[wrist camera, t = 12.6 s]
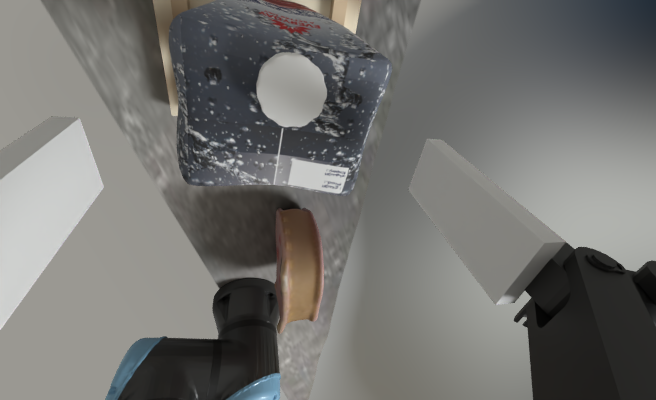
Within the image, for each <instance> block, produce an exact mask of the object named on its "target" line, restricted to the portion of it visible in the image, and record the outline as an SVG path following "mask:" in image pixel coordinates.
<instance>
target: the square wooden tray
mask: <svg viewBox="0 0 656 400" xmlns="http://www.w3.org/2000/svg"><path fill="white" fill-rule="evenodd" d="M213 1H215V0H153V5H154V11H155V17H156V23H157V29H158V35H159V41H160V47H161V53H162V59H163V65H164V71H165V77H166V83H167V89H168V95H169V101H170V107H171V113H172V116H178V94H177V87H176V82H175V77H174V72H173V67H172V61H171V56H170V50H169V27H170V24H171V22H172V20H173V19H174V18H175V17H176V16H177V15H178V14H180V13H182V12H184V11H187V10H190V9H193V8H196V7H199V6H202V5H205V4H208V3H210V2H213ZM284 1H290V2H295V3H298V4H301V5H304V6H306V7H308V8H310V9H312V10H314V11H316V12H318V13H320V14H322V15H324V16H326V17H327V18H329V19H331V20H333V21H335V22H337V23H339V24H341V25H342V26H344V27H346V28H347V29H349V30H350V31H351V32H353V33H354V34H355V33H356V27H357V22H358V16H359V11H360V5H361V0H284Z"/></svg>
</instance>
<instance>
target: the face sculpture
mask: <svg viewBox="0 0 656 400" xmlns="http://www.w3.org/2000/svg"><path fill="white" fill-rule="evenodd" d="M275 231H276V232H275V237H276V250H277V279H276V282H275V291H276V296H277V301H278V305H279V314H280V320H279V323H278V325H277V330H278V333H279V334H280V333H282V332H283V329H284V328H285V326H286V324H287V323H289V322H292V321H297V320H304V319H308V320H310V321H312V322H314V321H316V319H317V317H318V312H319V307H320V302H321V299H322V294H323V287H324V264H323V251H322V243H321V237H320V234H319V229H318V227H317V223H316V221H315V219H314V216H313V214H312V213H311V211H310V210H307V209H306V208H303V209H302V210H300V209H288V210H282V209H281V208H278V209H277V211H276V227H275Z"/></svg>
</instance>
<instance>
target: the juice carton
mask: <svg viewBox="0 0 656 400" xmlns="http://www.w3.org/2000/svg"><path fill="white" fill-rule="evenodd" d="M169 50H170V56H171V61H172V67H173V72H174V77H175V82H176V87H177V94H178V118H177V154H178V161H179V168H180V170H181V173H182V176H183V178H184V180H185V181H186V182H187V183H188V184H191V185H196V186H229V185H255V184H260V185H280V186H288V187H295V188H300V189H305V190H310V191H315V192H321V193H326V194H332V195H340V196H344V195H349V193H350V192H351V191H352V189H353V187H354V184H355V182H356V179H357V176H358V172H359V168H360V163H361V159H362V154H363V150H364V147H365V143H366V140H367V136H368V134H369V131H370V128H371V125H372V122H373V120H374V117H375V115H376V112H377V110H378V107H379V105H380V102H381V100H382V97H383V95H384V93H385V90H386V88H387V85H388V82H389V79H390V76H391V71H392V65H391V62H390V61H389V60H388V59H387V58H386V57H385V56H383V55H382V54H381V53H379V52H378V51H376V50H375V49H374V48H372V47H371V46H370V45H368V44H367V43H366V42H364V41H363V40H362V39H360V38H359V37H358V36H356V35H355V34H354V33H353V32H351V31H350V30H349V29H347V28H346V27H344V26H342V25H341V24H339V23H337V22H335V21H333V20H331V19H329V18H327V17H326V16H324V15H322V14H320V13H318V12H316V11H314V10H312V9H310V8H308V7H306V6H304V5H301V4H298V3H295V2H290V1H284V0H215V1H213V2H210V3H208V4H205V5H202V6H199V7H196V8H193V9H190V10H187V11H184V12H182V13H180V14H178V15H177V16H176V17H175V18H174V19H173V20H172V22H171V24H170V27H169Z"/></svg>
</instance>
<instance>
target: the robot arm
mask: <svg viewBox="0 0 656 400" xmlns="http://www.w3.org/2000/svg"><path fill="white" fill-rule="evenodd" d="M103 188H104V186H103V183H102V180H101V177H100V175H99V172H98V169H97V166H96V163H95V160H94V157H93V155H92V152H91V149H90V146H89V143H88V140H87V137H86V135H85V132H84V129H83V127H82V123H81V120H80V118H72V117H56V116H51V117H50V118H48V119H47V120H46V121H44V122H42V123H41V124H39V125H38V126H36V127H35V128H33V129H32V130H30V131H29V132H27V133H26V134H24V135H23V136H21V137H20V138H18V139H17V140H15V141H14V142H12V143H11V144H9V145H8V146H6V147H5V148H3V149H2V150H0V330H1V328H2V327H3V326H4V324H5V323H6V321H7V320H8V319H9V317H10V316H11V315H12V313H13V312H14V310H15V309H16V308H17V306H18V305H19V304H20V302H21V301H22V299H23V298H24V297H25V295H26V294H27V292H28V291H29V290H30V288H31V287H32V286H33V284H34V283H35V281H36V280H37V279H38V277H39V276H40V275H41V273H42V272H43V270H44V269H45V268H46V266H47V265H48V264H49V262H50V261H51V259H52V258H53V257H54V255H55V254H56V252H57V251H58V250H59V248H60V247H61V246H62V244H63V243H64V241H65V240H66V239H67V237H68V236H69V235H70V233H71V232H72V230H73V229H74V228H75V226H76V225H77V223H78V222H79V221H80V219H81V218H82V217H83V215H84V214H85V212H86V211H87V210H88V208H89V207H90V206H91V204H92V203H93V202H94V200H95V199H96V197H97V196H98V195H99V193H100V192H101V191H102V189H103ZM408 190H409V192H410V193H411V194H412V196H413V197H414V198H415V200H416V201H417V202H418V204H419V205H420V206H421V207H422V209H423V210H424V211H425V213H426V214H427V215H428V217H429V218H430V219H431V221H432V222H433V223H434V225H435V226H436V227H437V228H438V230H439V231H440V232H441V234H442V235H443V236H444V238H445V239H446V240H447V242H448V243H449V244H450V245H451V247H452V248H453V250H454V251H455V252H456V253H457V255H458V256H459V257H460V259H461V260H462V261H463V263H464V264H465V265H466V267H467V268H468V269H469V271H470V272H471V273H472V275H473V276H474V277H475V279H476V280H477V281H478V282H479V284H480V285H481V286H482V288H483V289H484V290H485V292H486V293H487V294H488V296H489V297H490V298H491V300H492V301H493V302H494V303H495V305H499V304H507V303H515V301H516V300H517V299H518V298H519V296H520V295H521V294H522V293H523V292H524V291H526V292H527V293H528V294H529V295H530V296H531V297H532V298H531V299H530V300H529V301H528V303H527V304H526V305H525V306H524V307H523V308H522V309H521V310H520V311H519V313H518V314H517V315H516V316H515V318H514V321H515V322H518V321H519V320H520V319H521V318H522V317H527V320H526V321H525V322H524V323H523V326H525V327H527V328H528V338H529V351H530V362H531V363H530V364H531V376H532V388H533V400H656V261H649V262H647V263H646V264H644V265H643V266H642V267H641V268H640V269H639V270H638V271H637V272H634V271H629V270H625V268H624V267H623V266H622V265H621V264H619V263H618V262H617V261H615V260H614V259H612V258H611V257H609V256H607V255H606V254H603V253H601V252H599V251H597V250H594V249H590V248H587V247H578V248H576V249H574V248H572V247H571V246H570V245H569V244H568V243H566V241H565V240H563V239H562V238H561V237H560V236H558V235H557V234H556V233H555V232H553V231H552V230H551V229H550V228H549V227H547V226H546V225H545V224H544V223H542V222H541V221H540V220H539V219H538V218H537V217H535V216H534V215H533V214H532V213H530V212H529V211H528V210H527V209H526V208H524V207H523V206H522V205H521V204H519V203H518V202H517V201H516V200H515V199H513V198H512V197H511V196H510V195H508V194H507V193H506V192H505V191H504V190H502V189H501V188H500V187H499V186H498V185H496V184H495V183H494V182H493V181H491V180H490V179H489V178H488V177H487V176H485V175H484V174H483V173H482V172H480V171H479V170H478V169H477V168H476V167H474V166H473V165H472V164H471V163H470V162H468V161H467V160H466V159H465V158H463V157H462V156H461V155H460V154H458V153H457V152H456V151H455V150H454V149H452V148H451V147H450V146H449V145H448V144H446V143H445V142H444V141H443V140H438V139H427V140H426V143H425V145H424V148H423V151H422V154H421V156H420V159H419V162H418V164H417V167H416V170H415V172H414V175H413V178H412V181H411V183H410V186H409V189H408ZM213 314H214V318H215V322H216V326H217V329H218V333H219V335H218V339H185V338H167V337H166V336H164V337H160V338H143V339H140V340H138V341H136V342H135V343H134V344H133V345H132V346H131V347H130V348H129V350H128V351H127V353H126V355H125V356H124V358H123V360H122V362H121V364H120V366H119V368H118V370H117V372H116V374H115V377H114V379H113V381H112V384H111V388H110V390H109V392H108V394H107V396H106V399H105V400H279V398H280V378H281V376H280V372H279V359H278V346H277V333H276V327H277V323H278V319H279V315H280V314H279V305H278V301H277V296H276V291H275V284H273V283H272V282H269V281H267V280H263V279H254V278H250V279H241V280H237V281H234V282H231V283H229V284H227V285H225V286H223V287H222V288H221V289H219V290H218V291H217V293H216V294H215V296H214V301H213Z"/></svg>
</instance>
